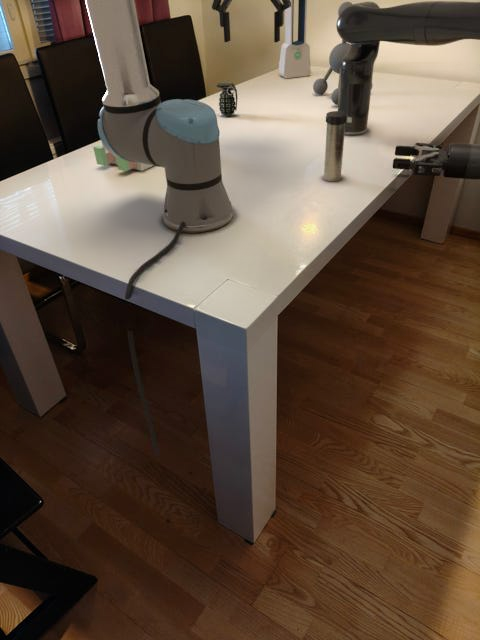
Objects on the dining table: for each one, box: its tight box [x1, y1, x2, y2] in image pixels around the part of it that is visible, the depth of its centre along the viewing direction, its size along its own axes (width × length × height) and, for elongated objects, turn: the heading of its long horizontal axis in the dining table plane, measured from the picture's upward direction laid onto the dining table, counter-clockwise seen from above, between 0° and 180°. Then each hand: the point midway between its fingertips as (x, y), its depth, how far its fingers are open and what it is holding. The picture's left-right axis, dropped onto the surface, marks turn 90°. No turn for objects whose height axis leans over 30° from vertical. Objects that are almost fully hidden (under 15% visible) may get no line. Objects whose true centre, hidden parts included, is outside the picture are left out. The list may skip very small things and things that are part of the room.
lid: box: [325, 110, 347, 125], centre depth 112 cm, size 5×5×2 cm
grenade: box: [215, 82, 238, 117], centre depth 166 cm, size 7×6×10 cm
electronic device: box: [278, 0, 312, 79], centre depth 204 cm, size 12×8×30 cm, turn 105°
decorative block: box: [92, 142, 154, 172], centre depth 138 cm, size 26×6×20 cm
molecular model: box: [312, 1, 373, 106], centre depth 171 cm, size 24×22×30 cm
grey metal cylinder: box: [323, 122, 345, 182], centre depth 117 cm, size 4×4×15 cm
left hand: (251, 41), depth 127 cm, fingers open, 13 cm apart
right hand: (394, 156), depth 114 cm, fingers open, 8 cm apart
